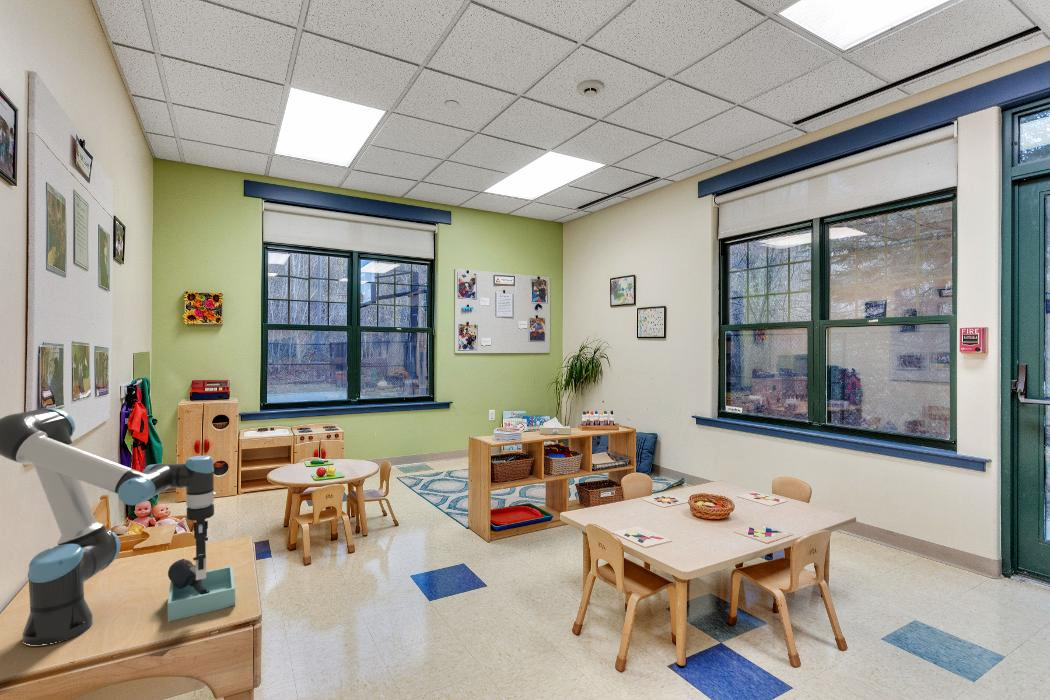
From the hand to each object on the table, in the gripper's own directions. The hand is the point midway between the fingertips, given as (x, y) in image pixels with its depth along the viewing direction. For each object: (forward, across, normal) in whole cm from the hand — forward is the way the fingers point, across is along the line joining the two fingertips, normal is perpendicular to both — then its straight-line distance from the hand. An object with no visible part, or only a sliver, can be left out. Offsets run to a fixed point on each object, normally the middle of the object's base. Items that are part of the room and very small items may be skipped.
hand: (201, 570), depth 169 cm
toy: (+8, 0, -1) cm, 8 cm away
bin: (+10, 0, 0) cm, 10 cm away
